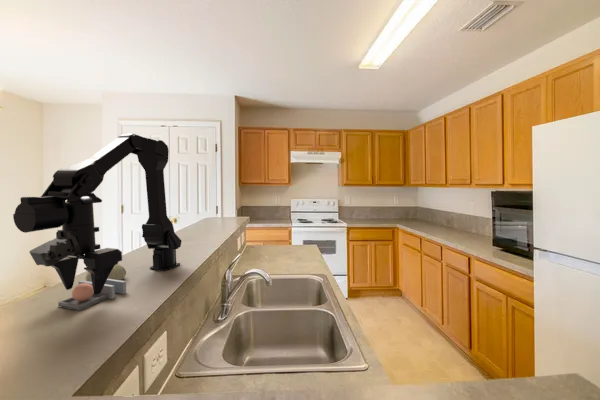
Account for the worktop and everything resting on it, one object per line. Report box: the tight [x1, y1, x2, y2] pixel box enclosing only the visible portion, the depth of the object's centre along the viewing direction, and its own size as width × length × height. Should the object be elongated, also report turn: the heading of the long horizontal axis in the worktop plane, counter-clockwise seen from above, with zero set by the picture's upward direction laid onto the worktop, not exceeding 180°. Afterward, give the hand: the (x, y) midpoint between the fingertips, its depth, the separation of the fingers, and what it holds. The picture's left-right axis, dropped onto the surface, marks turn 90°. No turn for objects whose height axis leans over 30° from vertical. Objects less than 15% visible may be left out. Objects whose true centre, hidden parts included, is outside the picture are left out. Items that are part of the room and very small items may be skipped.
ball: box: [71, 283, 94, 302], centre depth 65 cm, size 4×4×4 cm
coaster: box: [58, 293, 108, 312], centre depth 65 cm, size 6×6×1 cm
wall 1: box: [78, 280, 116, 300], centre depth 69 cm, size 1×11×3 cm, turn 72°
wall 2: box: [91, 278, 127, 295], centre depth 72 cm, size 1×11×3 cm, turn 72°
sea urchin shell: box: [85, 263, 127, 282], centre depth 79 cm, size 9×8×8 cm
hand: (83, 291), depth 65 cm, fingers open, 9 cm apart
